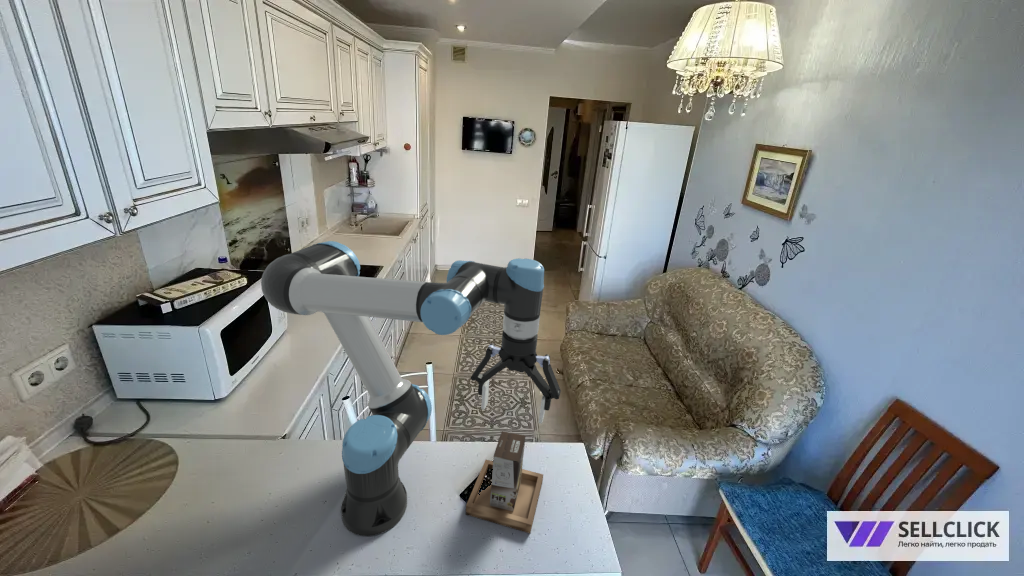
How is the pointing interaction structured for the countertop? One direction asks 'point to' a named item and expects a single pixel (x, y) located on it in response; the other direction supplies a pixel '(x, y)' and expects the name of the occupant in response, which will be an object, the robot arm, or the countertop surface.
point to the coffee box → (507, 470)
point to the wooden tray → (512, 519)
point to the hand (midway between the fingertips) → (512, 412)
